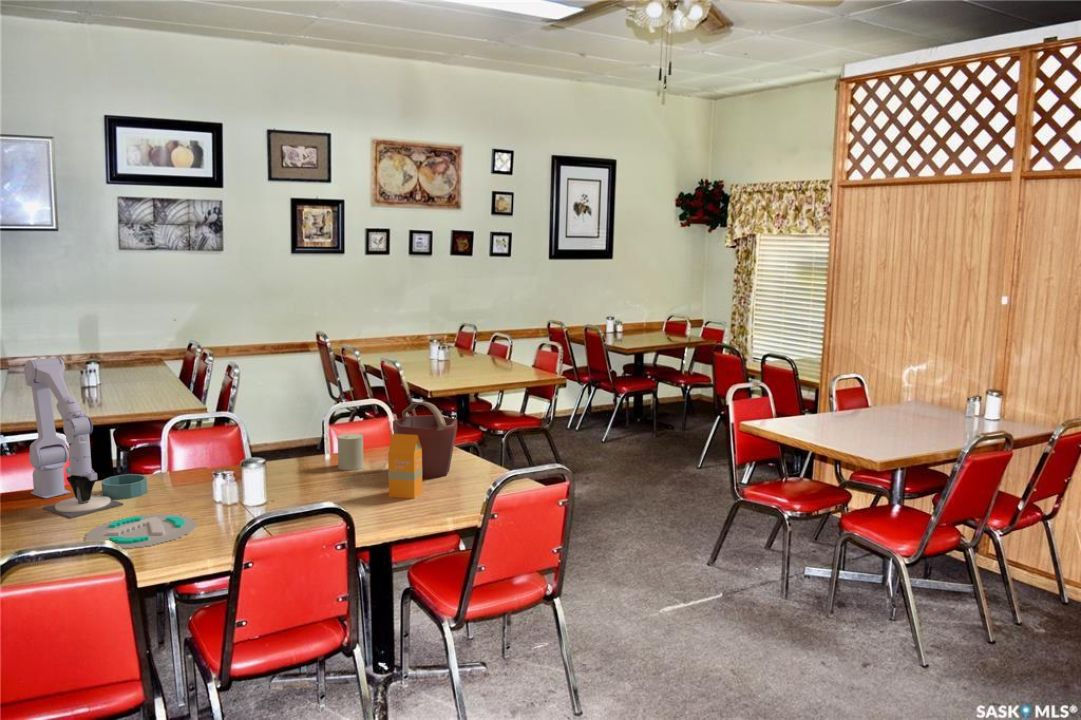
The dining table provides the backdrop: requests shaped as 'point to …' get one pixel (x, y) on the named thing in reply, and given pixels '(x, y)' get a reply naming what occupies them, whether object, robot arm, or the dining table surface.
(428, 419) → the bucket
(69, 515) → the mat
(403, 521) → the dining table surface
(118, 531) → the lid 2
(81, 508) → the lid
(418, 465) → the orange juice
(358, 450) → the can
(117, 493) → the bowl
